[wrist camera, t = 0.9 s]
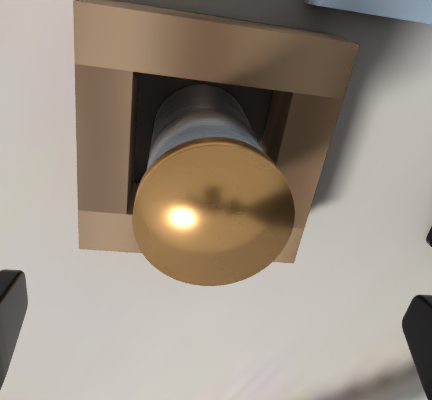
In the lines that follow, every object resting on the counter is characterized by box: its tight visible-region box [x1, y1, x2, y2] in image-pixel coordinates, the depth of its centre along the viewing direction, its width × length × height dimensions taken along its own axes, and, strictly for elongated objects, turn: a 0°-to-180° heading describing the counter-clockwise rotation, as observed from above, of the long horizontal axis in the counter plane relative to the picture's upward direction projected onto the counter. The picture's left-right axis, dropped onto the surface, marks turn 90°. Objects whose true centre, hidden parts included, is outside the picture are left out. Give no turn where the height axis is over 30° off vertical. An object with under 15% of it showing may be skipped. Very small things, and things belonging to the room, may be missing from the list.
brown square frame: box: [73, 0, 359, 263], centre depth 17 cm, size 10×10×3 cm
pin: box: [132, 84, 295, 286], centre depth 15 cm, size 5×5×8 cm
